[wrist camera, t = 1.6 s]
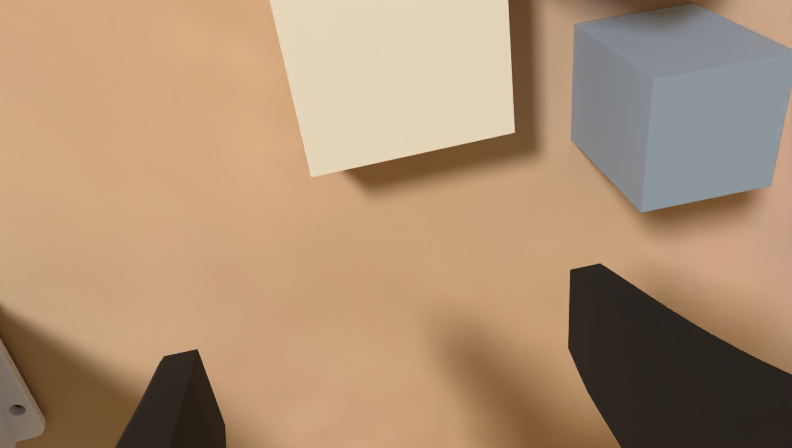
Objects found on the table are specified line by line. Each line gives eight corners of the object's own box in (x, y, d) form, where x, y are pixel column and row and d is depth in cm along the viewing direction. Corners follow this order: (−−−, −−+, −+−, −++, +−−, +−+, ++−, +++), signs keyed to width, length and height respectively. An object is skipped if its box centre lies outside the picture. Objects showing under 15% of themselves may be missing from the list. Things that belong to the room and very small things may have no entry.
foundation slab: (483, 94, 23) (514, 132, 21) (301, 133, 22) (311, 177, 20) (468, -105, 20) (503, -89, 17) (255, -66, 19) (259, -43, 17)
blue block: (679, 117, 25) (771, 185, 20) (570, 139, 24) (640, 212, 20) (693, 2, 22) (798, 52, 18) (573, 23, 22) (653, 79, 18)
